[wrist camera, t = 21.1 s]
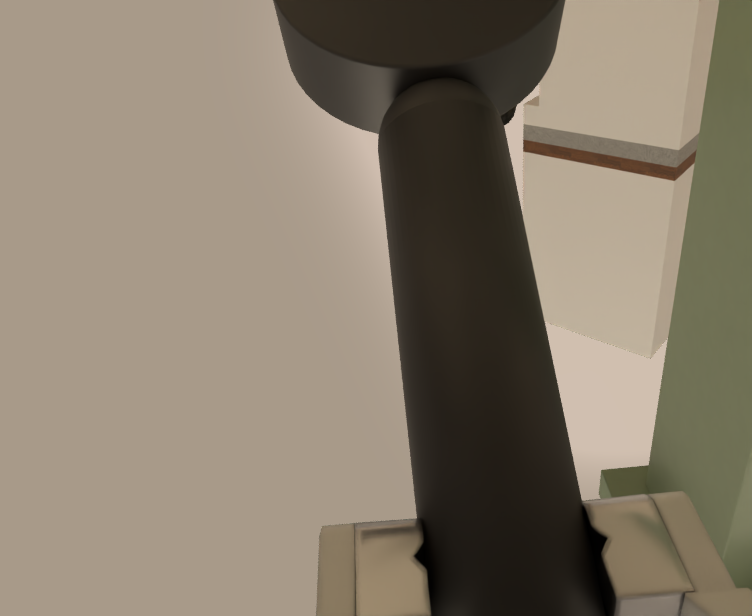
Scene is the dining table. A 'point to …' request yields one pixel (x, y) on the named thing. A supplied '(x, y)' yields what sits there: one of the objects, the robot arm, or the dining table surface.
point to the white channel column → (615, 164)
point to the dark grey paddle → (462, 287)
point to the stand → (712, 319)
